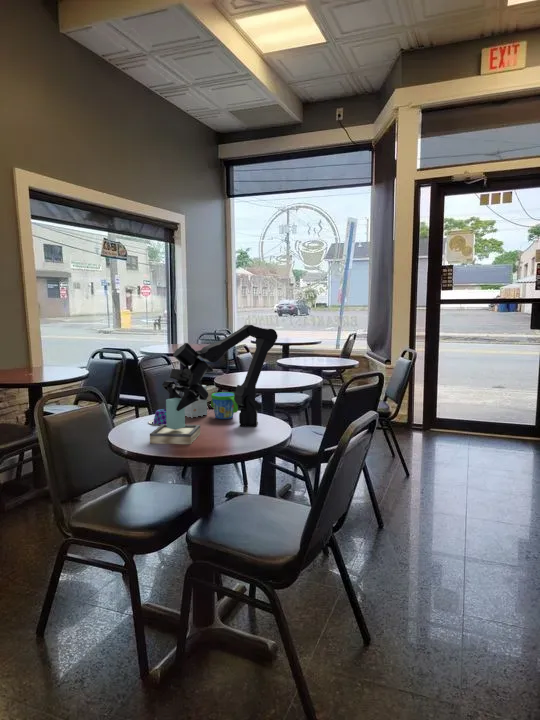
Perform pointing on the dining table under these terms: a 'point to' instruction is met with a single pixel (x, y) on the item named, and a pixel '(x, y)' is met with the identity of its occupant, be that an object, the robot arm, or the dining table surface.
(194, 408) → the small box
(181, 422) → the teal block
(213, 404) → the snack cup
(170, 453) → the dining table surface
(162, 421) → the checkered hat
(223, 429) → the dining table surface
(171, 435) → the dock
